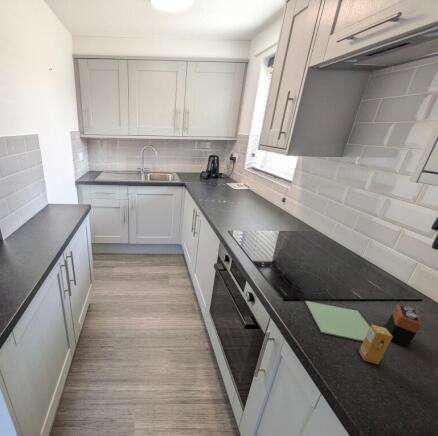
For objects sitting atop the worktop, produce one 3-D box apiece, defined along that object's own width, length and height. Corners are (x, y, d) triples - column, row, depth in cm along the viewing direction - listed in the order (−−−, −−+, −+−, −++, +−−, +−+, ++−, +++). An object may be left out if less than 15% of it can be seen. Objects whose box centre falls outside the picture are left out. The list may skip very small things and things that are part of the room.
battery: (387, 339, 69) (402, 313, 65) (384, 325, 74) (398, 301, 70) (407, 347, 67) (424, 321, 63) (403, 333, 71) (418, 308, 68)
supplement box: (372, 354, 64) (387, 327, 60) (378, 365, 61) (394, 337, 57) (357, 350, 65) (371, 323, 62) (362, 360, 62) (377, 333, 59)
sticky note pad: (356, 311, 79) (357, 310, 79) (383, 346, 67) (384, 344, 67) (305, 301, 83) (305, 300, 83) (321, 332, 71) (321, 331, 70)
